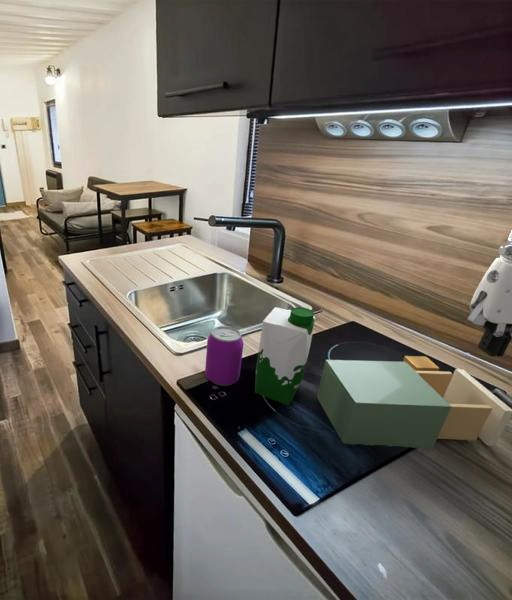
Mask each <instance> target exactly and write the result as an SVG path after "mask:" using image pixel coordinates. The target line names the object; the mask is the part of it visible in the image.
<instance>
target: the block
mask: <svg viewBox="0 0 512 600" xmlns="http://www.w3.org/2000/svg"><path fill="white" fill-rule="evenodd" d="M402 362H406V363H408V364H409V365H410V366H411V367H412V368H413V369H414V370H415V371H440V369H441V368H440V367H439V366H438V365H436V363H434V362H433V361H432V360H431V359H430V358H428V357H427V356H423V355H422V356H420V355H419V356H418V355H404V357H403V359H402Z"/></svg>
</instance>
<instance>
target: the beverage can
mask: <svg viewBox="0 0 512 600" xmlns="http://www.w3.org/2000/svg"><path fill="white" fill-rule="evenodd" d="M244 344H245V343H244V340H243V337H242V334H241V331H240V330H239V329H237V328H236V327H233V326H227V325H219V326H216V327H214V328H212V329H211V331H210V334H209V336H208V338H207V342H206V353H205V354H206V355H205V356H206V357H205V367H204V368H205V369H204V371H205V377H206V378H207V379H208V380H209V381H210V382H211V383H213V384H215V385H218V386H223V387H226V386H231V385H234V384H236V383H237V382H238V381H239V379H240V375H241V368H242V360H243V352H244Z"/></svg>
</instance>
